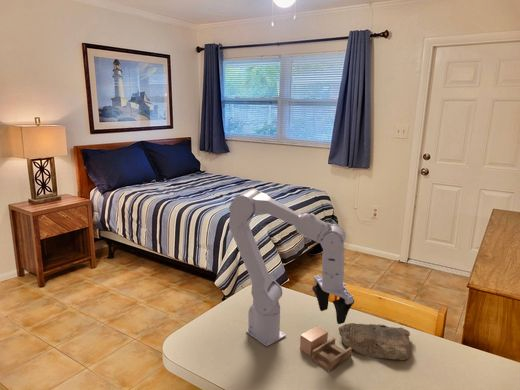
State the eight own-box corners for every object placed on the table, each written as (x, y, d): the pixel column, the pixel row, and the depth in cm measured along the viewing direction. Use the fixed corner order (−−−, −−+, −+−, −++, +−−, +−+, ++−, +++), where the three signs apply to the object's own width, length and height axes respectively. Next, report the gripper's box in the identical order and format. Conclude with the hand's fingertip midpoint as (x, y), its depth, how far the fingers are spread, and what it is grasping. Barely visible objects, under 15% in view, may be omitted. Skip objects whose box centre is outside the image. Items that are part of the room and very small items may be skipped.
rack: (329, 371, 98) (330, 362, 98) (311, 359, 103) (312, 350, 102) (351, 357, 104) (351, 348, 103) (333, 346, 108) (333, 337, 108)
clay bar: (310, 355, 105) (311, 341, 103) (300, 348, 107) (300, 334, 106) (327, 345, 109) (327, 331, 108) (316, 339, 112) (317, 325, 111)
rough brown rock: (334, 352, 107) (411, 367, 100) (335, 336, 106) (412, 350, 99) (341, 326, 120) (409, 337, 113) (341, 311, 119) (410, 323, 112)
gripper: (363, 277, 98) (361, 324, 101) (328, 258, 110) (327, 301, 113) (341, 283, 94) (340, 332, 97) (308, 263, 107) (307, 307, 110)
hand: (332, 316), depth 105 cm, fingers open, 7 cm apart
